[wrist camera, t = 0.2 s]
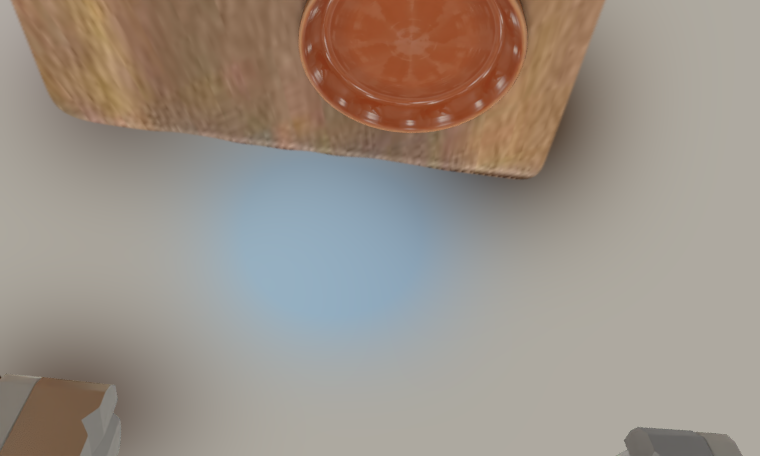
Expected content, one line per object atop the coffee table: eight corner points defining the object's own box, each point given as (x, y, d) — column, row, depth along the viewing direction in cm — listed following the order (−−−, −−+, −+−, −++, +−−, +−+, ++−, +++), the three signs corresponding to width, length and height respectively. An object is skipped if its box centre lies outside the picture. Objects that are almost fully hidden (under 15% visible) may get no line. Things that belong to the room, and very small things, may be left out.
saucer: (564, -41, 60) (568, -17, 57) (480, 128, 78) (481, 150, 76) (318, -101, 56) (314, -78, 54) (291, 90, 75) (287, 113, 72)
